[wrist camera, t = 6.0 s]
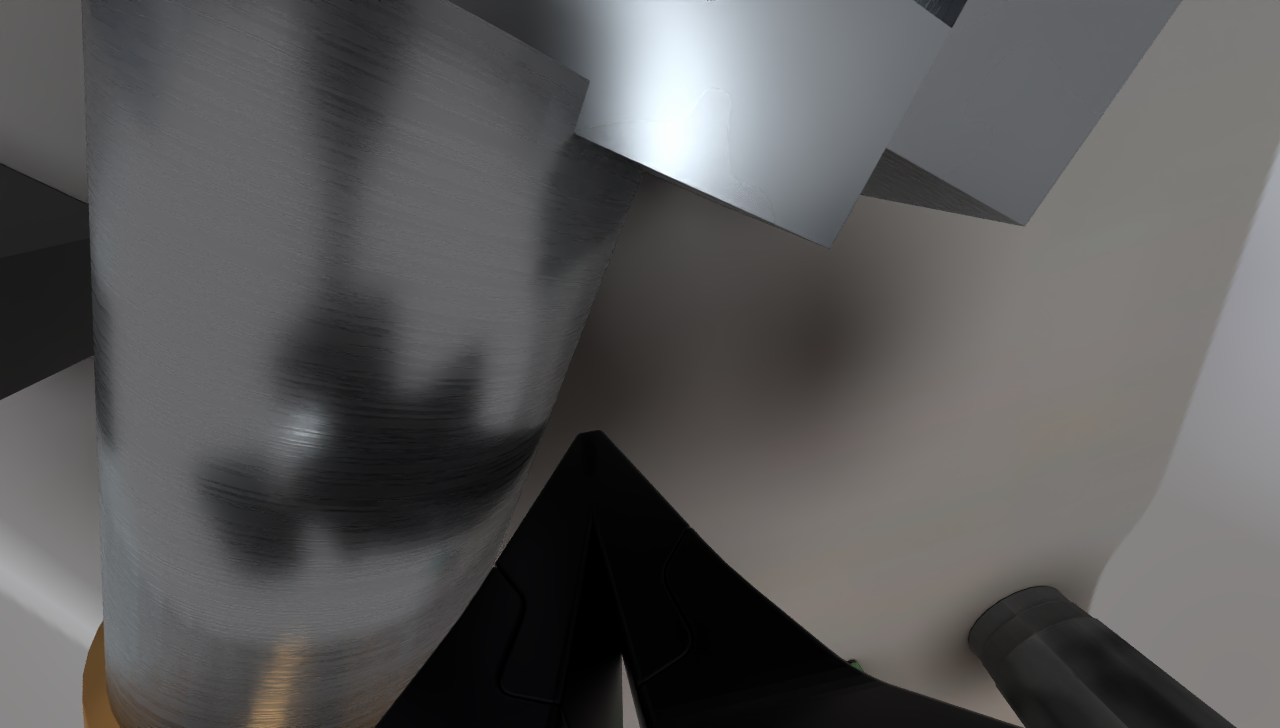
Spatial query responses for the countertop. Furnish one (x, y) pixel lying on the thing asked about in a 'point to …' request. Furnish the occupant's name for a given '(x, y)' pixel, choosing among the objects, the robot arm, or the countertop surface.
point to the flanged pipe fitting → (455, 276)
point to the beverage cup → (1077, 669)
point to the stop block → (42, 282)
